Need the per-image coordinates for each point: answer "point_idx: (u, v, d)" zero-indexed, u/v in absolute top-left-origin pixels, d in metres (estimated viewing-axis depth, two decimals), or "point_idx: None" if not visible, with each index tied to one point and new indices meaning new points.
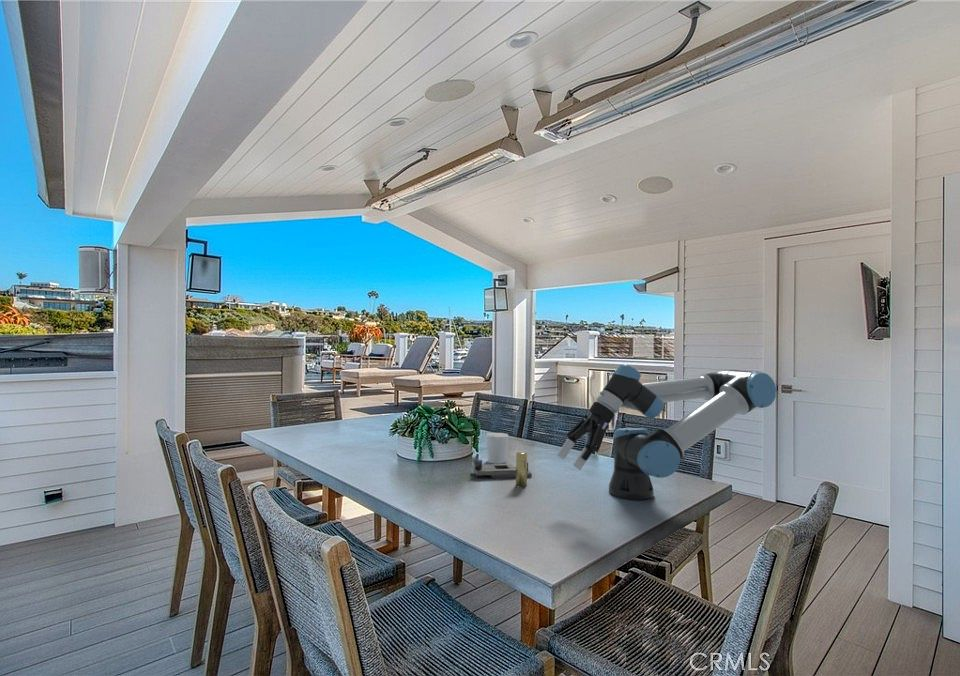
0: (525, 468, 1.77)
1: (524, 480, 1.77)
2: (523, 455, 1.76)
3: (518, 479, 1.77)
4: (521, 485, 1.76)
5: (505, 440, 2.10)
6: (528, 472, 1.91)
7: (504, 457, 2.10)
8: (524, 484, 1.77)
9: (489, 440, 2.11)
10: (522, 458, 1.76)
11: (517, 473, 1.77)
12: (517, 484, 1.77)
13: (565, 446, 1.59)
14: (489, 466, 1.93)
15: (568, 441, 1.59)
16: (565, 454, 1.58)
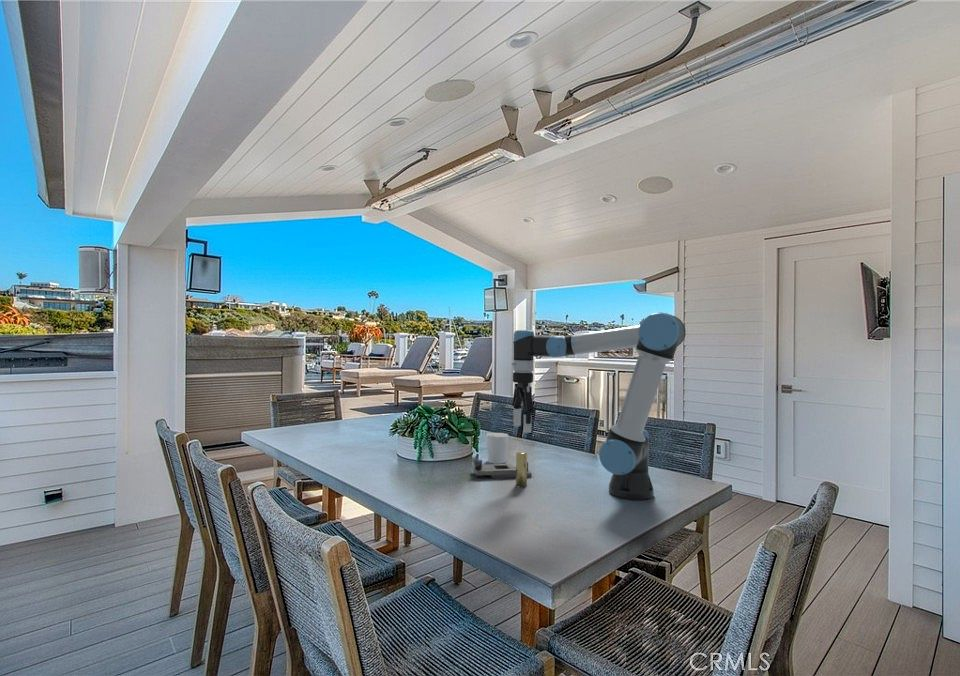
0: (525, 468, 1.77)
1: (524, 480, 1.77)
2: (523, 455, 1.76)
3: (518, 479, 1.77)
4: (521, 485, 1.76)
5: (505, 440, 2.10)
6: (528, 472, 1.91)
7: (504, 457, 2.10)
8: (524, 484, 1.77)
9: (489, 440, 2.11)
10: (522, 458, 1.76)
11: (517, 473, 1.77)
12: (517, 484, 1.77)
13: (515, 416, 1.84)
14: (489, 466, 1.93)
15: (515, 411, 1.84)
16: (519, 422, 1.85)
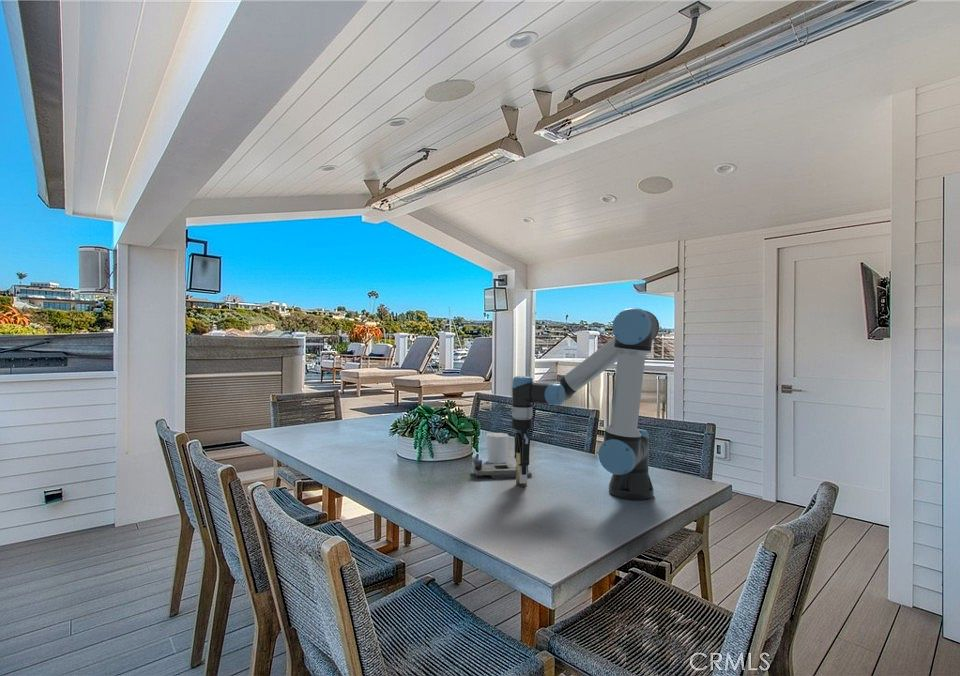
0: None
1: None
2: None
3: (518, 479, 1.77)
4: (521, 485, 1.76)
5: (505, 440, 2.10)
6: (528, 472, 1.91)
7: (504, 457, 2.10)
8: (524, 484, 1.77)
9: (489, 440, 2.11)
10: None
11: (517, 473, 1.77)
12: (517, 484, 1.77)
13: None
14: (489, 466, 1.93)
15: None
16: None
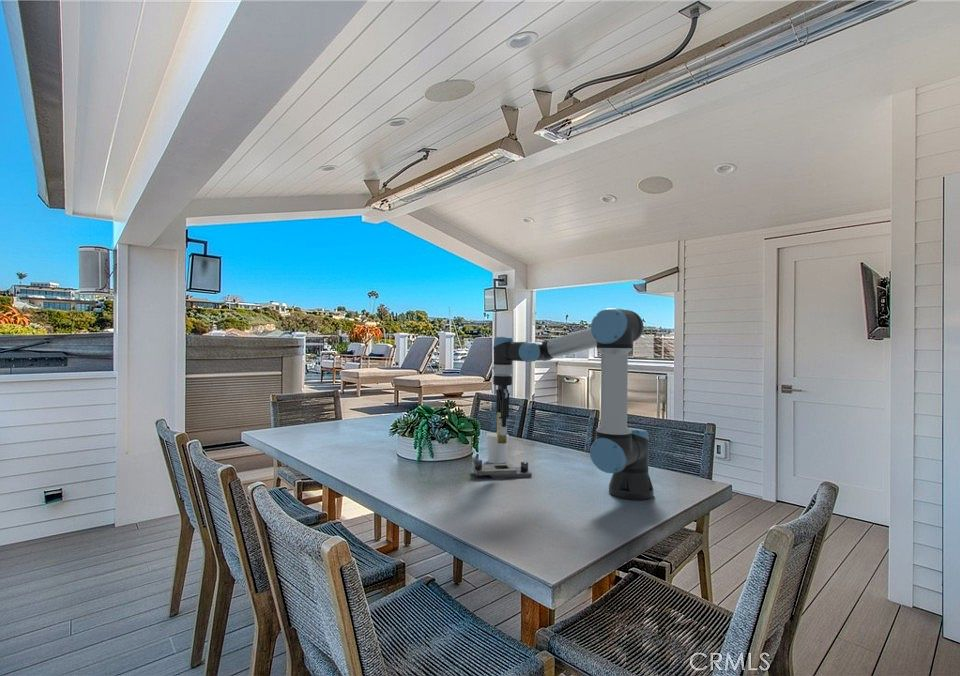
0: None
1: (504, 437, 1.91)
2: None
3: (499, 436, 1.91)
4: (501, 442, 1.90)
5: None
6: (528, 472, 1.91)
7: (504, 457, 2.10)
8: (504, 441, 1.91)
9: (489, 440, 2.11)
10: None
11: (498, 431, 1.91)
12: (498, 441, 1.91)
13: None
14: (489, 466, 1.93)
15: None
16: None
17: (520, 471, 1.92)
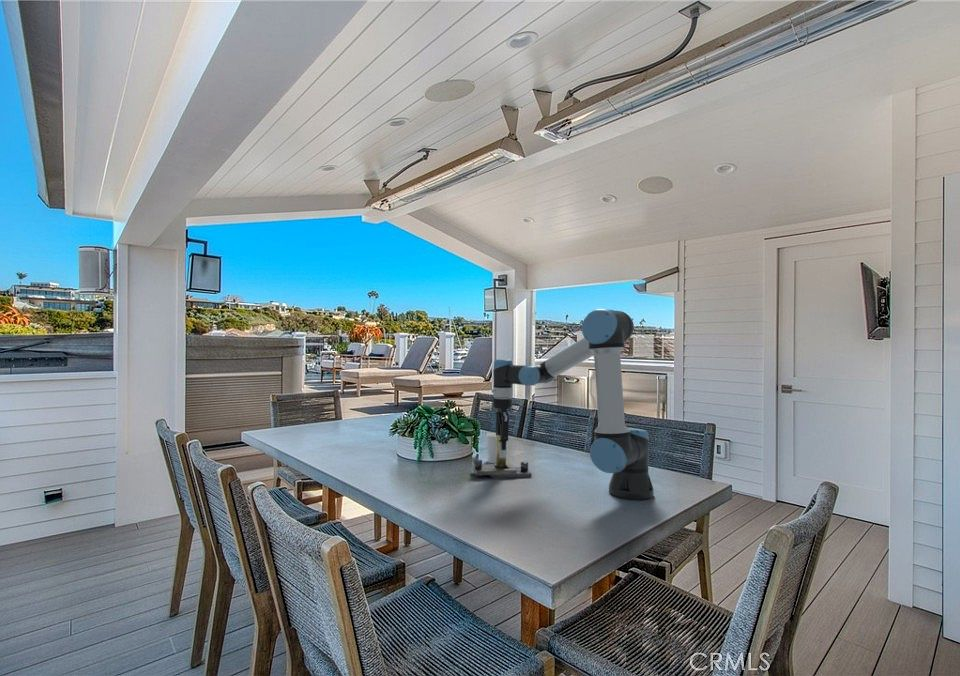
0: None
1: (504, 460, 1.91)
2: None
3: (498, 459, 1.91)
4: (501, 465, 1.90)
5: None
6: (528, 472, 1.91)
7: None
8: (504, 464, 1.91)
9: (489, 440, 2.11)
10: None
11: (497, 454, 1.91)
12: (497, 464, 1.91)
13: None
14: (489, 466, 1.93)
15: None
16: None
17: (520, 471, 1.92)
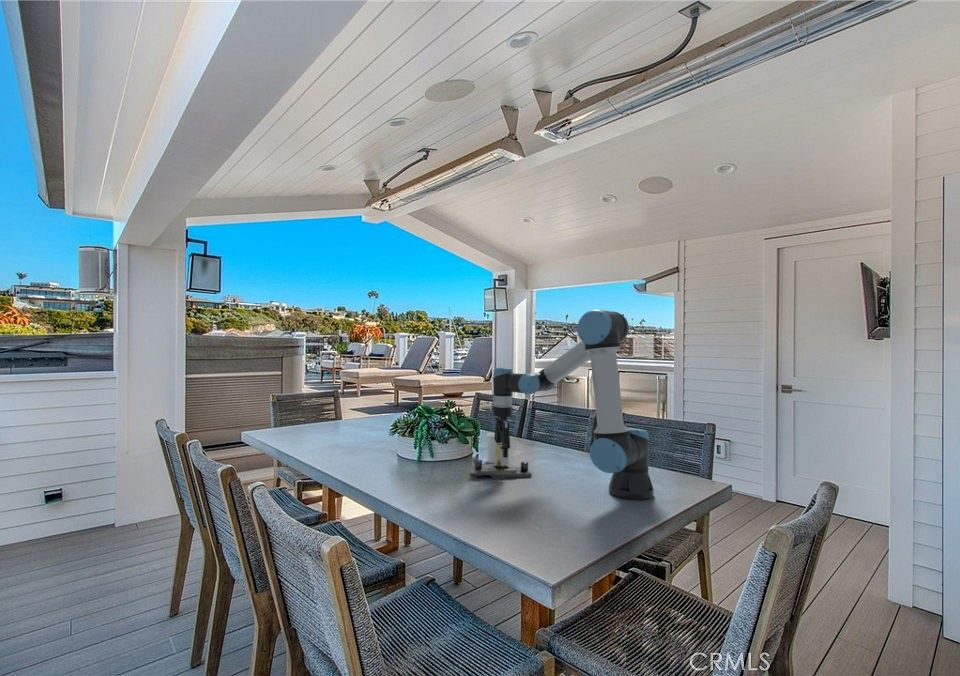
0: None
1: None
2: None
3: None
4: None
5: None
6: (528, 472, 1.91)
7: None
8: None
9: (489, 440, 2.11)
10: None
11: (497, 463, 1.91)
12: None
13: None
14: (489, 466, 1.93)
15: None
16: None
17: (520, 471, 1.92)
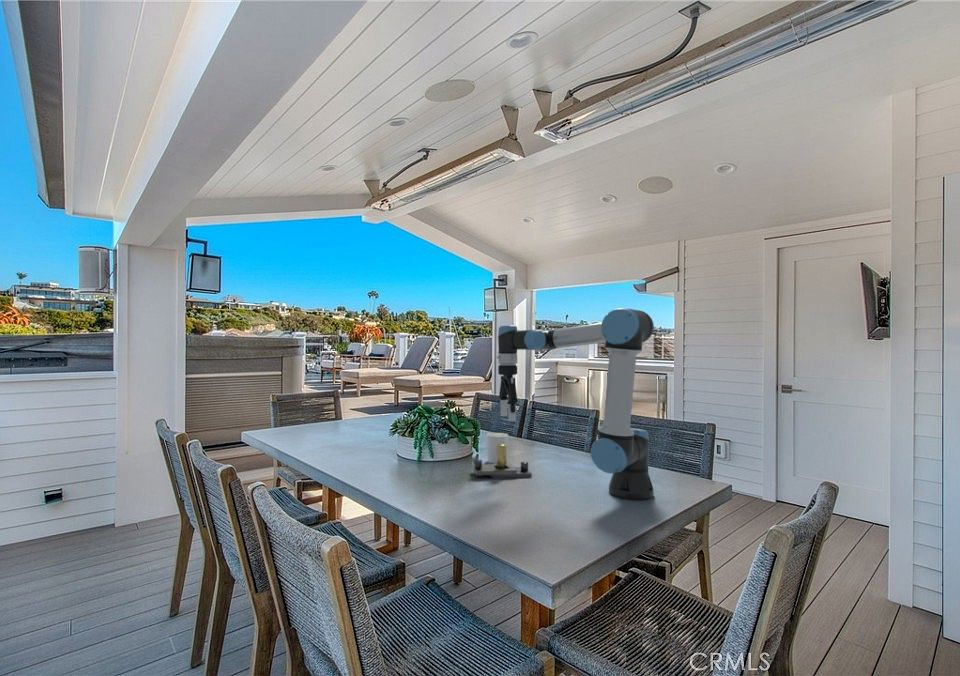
0: (505, 459, 1.91)
1: None
2: (503, 446, 1.90)
3: None
4: None
5: (505, 440, 2.10)
6: (528, 472, 1.91)
7: None
8: None
9: (489, 440, 2.11)
10: (502, 449, 1.90)
11: (497, 463, 1.91)
12: None
13: (502, 406, 1.96)
14: (489, 466, 1.93)
15: (501, 402, 1.96)
16: (505, 412, 1.96)
17: (520, 471, 1.92)
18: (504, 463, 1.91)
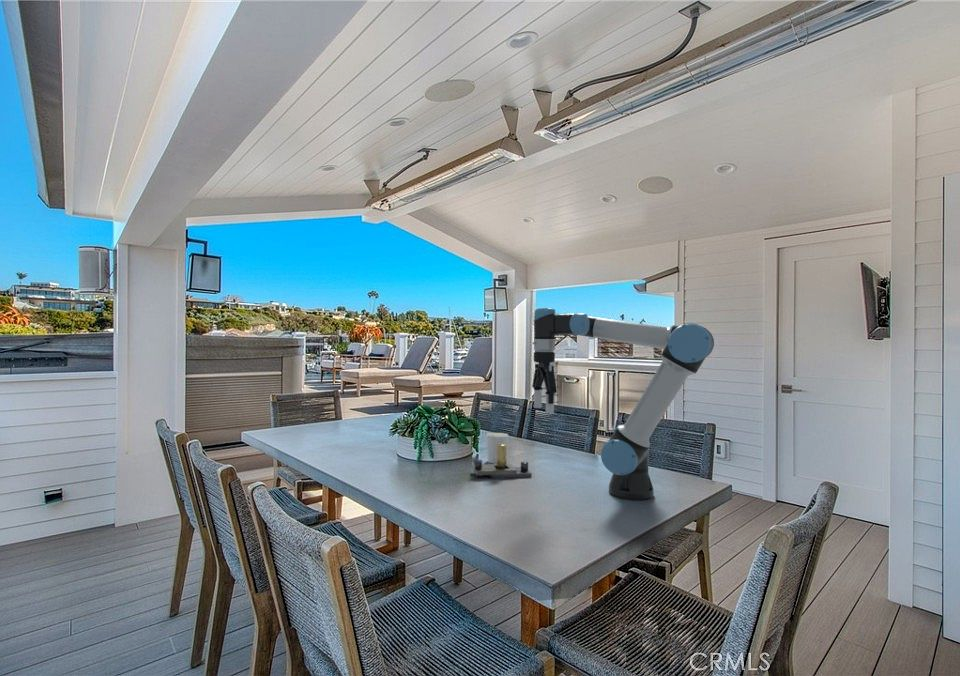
0: (505, 459, 1.91)
1: None
2: (503, 446, 1.90)
3: None
4: None
5: (505, 440, 2.10)
6: (528, 472, 1.91)
7: None
8: None
9: (489, 440, 2.11)
10: (502, 449, 1.90)
11: (497, 463, 1.91)
12: None
13: (536, 397, 1.79)
14: (489, 466, 1.93)
15: (536, 392, 1.79)
16: (540, 403, 1.79)
17: (520, 471, 1.92)
18: (504, 463, 1.91)
